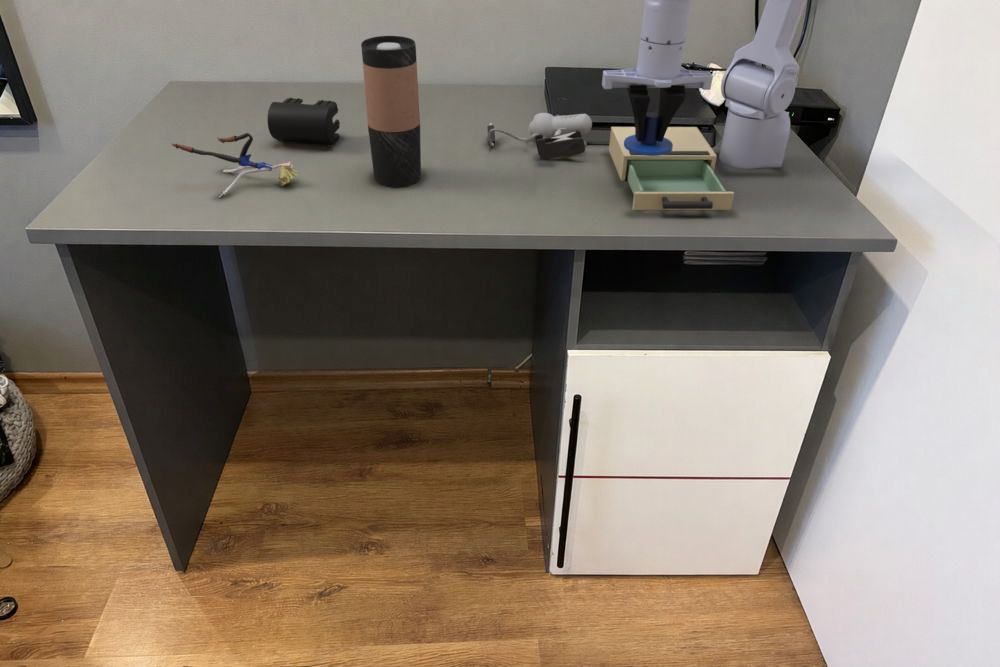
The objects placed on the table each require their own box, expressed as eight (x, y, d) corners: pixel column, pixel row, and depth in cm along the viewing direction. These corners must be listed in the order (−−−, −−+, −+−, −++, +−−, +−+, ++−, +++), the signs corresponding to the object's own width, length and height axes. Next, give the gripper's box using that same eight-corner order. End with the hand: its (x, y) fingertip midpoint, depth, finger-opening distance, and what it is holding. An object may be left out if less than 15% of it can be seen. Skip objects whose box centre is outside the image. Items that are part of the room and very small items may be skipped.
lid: (666, 137, 110) (671, 106, 107) (677, 156, 104) (682, 123, 101) (620, 137, 109) (623, 106, 107) (628, 156, 104) (632, 123, 101)
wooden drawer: (708, 178, 117) (711, 159, 115) (735, 221, 105) (739, 201, 103) (618, 178, 116) (620, 159, 114) (635, 221, 104) (638, 201, 102)
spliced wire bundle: (298, 236, 114) (162, 199, 110) (313, 195, 119) (183, 159, 115) (302, 190, 105) (155, 149, 102) (318, 148, 110) (178, 108, 107)
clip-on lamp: (479, 173, 124) (585, 163, 118) (469, 137, 121) (579, 126, 115) (497, 141, 133) (597, 130, 127) (489, 107, 129) (592, 94, 123)
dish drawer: (691, 154, 125) (697, 125, 122) (711, 185, 115) (717, 155, 112) (608, 154, 124) (611, 125, 121) (620, 185, 114) (624, 154, 112)
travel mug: (430, 171, 117) (425, 38, 106) (410, 191, 112) (401, 52, 100) (386, 164, 119) (376, 33, 108) (363, 183, 114) (350, 46, 102)
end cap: (271, 148, 124) (264, 108, 120) (287, 132, 130) (281, 93, 126) (329, 153, 123) (324, 112, 119) (343, 137, 128) (339, 97, 124)
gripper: (612, 46, 95) (602, 149, 103) (726, 47, 95) (706, 150, 103) (603, 32, 100) (594, 130, 108) (711, 33, 101) (693, 131, 109)
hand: (648, 139), depth 106 cm, fingers closed on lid, 2 cm apart
